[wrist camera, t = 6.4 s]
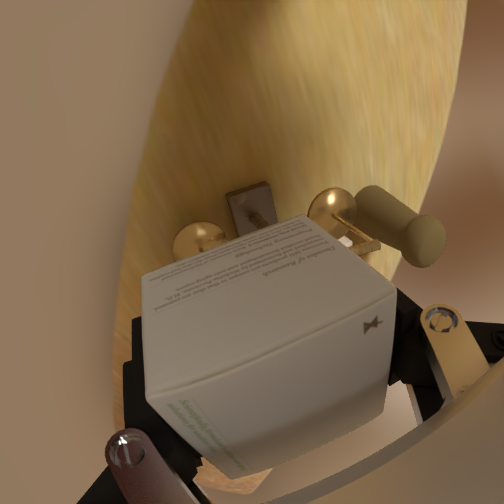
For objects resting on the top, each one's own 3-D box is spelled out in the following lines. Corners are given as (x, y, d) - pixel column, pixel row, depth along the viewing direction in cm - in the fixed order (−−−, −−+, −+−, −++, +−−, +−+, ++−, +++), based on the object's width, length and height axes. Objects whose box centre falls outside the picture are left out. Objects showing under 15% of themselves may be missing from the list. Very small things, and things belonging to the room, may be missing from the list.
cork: (380, 234, 37) (441, 276, 28) (343, 231, 35) (405, 278, 26) (393, 189, 35) (461, 222, 25) (356, 181, 33) (427, 216, 23)
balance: (160, 216, 28) (170, 287, 17) (322, 164, 30) (404, 200, 20) (181, 269, 31) (202, 354, 20) (329, 216, 33) (402, 268, 23)
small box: (134, 272, 9) (137, 403, 5) (304, 207, 10) (410, 283, 6) (198, 382, 12) (230, 486, 8) (324, 329, 13) (390, 412, 9)
